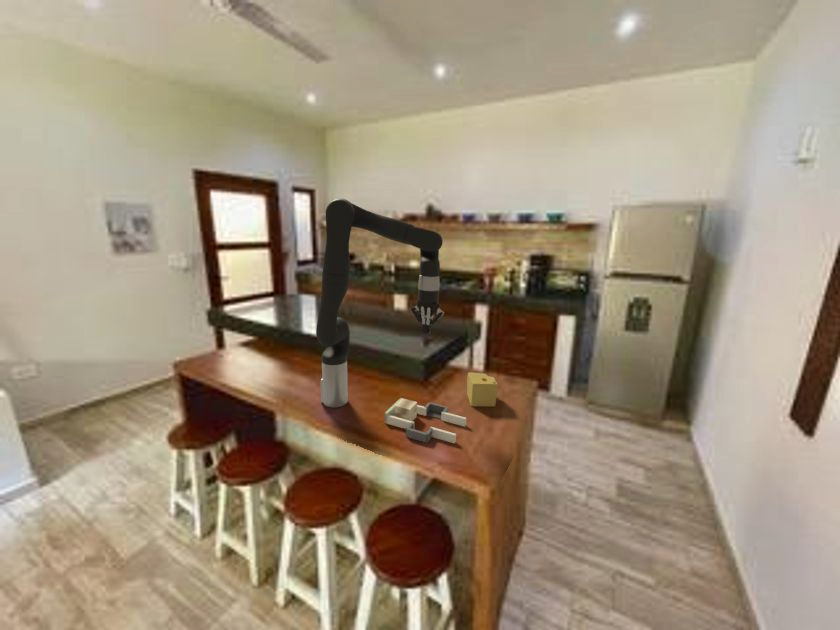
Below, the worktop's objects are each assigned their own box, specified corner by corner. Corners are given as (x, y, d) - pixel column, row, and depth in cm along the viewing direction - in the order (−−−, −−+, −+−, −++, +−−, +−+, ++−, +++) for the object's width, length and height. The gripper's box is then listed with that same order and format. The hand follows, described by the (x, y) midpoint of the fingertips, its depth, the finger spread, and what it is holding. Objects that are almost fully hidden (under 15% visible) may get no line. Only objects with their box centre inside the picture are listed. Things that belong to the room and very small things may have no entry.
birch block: (394, 420, 131) (394, 405, 129) (401, 412, 136) (402, 398, 135) (409, 425, 129) (409, 409, 127) (416, 416, 134) (417, 402, 132)
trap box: (378, 428, 125) (379, 418, 124) (404, 402, 143) (405, 393, 142) (450, 450, 116) (451, 439, 114) (469, 419, 133) (469, 409, 132)
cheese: (490, 394, 153) (492, 372, 150) (496, 407, 142) (498, 384, 140) (465, 394, 152) (467, 372, 150) (469, 407, 142) (471, 383, 139)
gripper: (407, 287, 130) (406, 333, 135) (442, 292, 125) (439, 339, 130) (416, 284, 137) (414, 328, 142) (449, 288, 132) (446, 334, 137)
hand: (426, 333), depth 136 cm, fingers closed
